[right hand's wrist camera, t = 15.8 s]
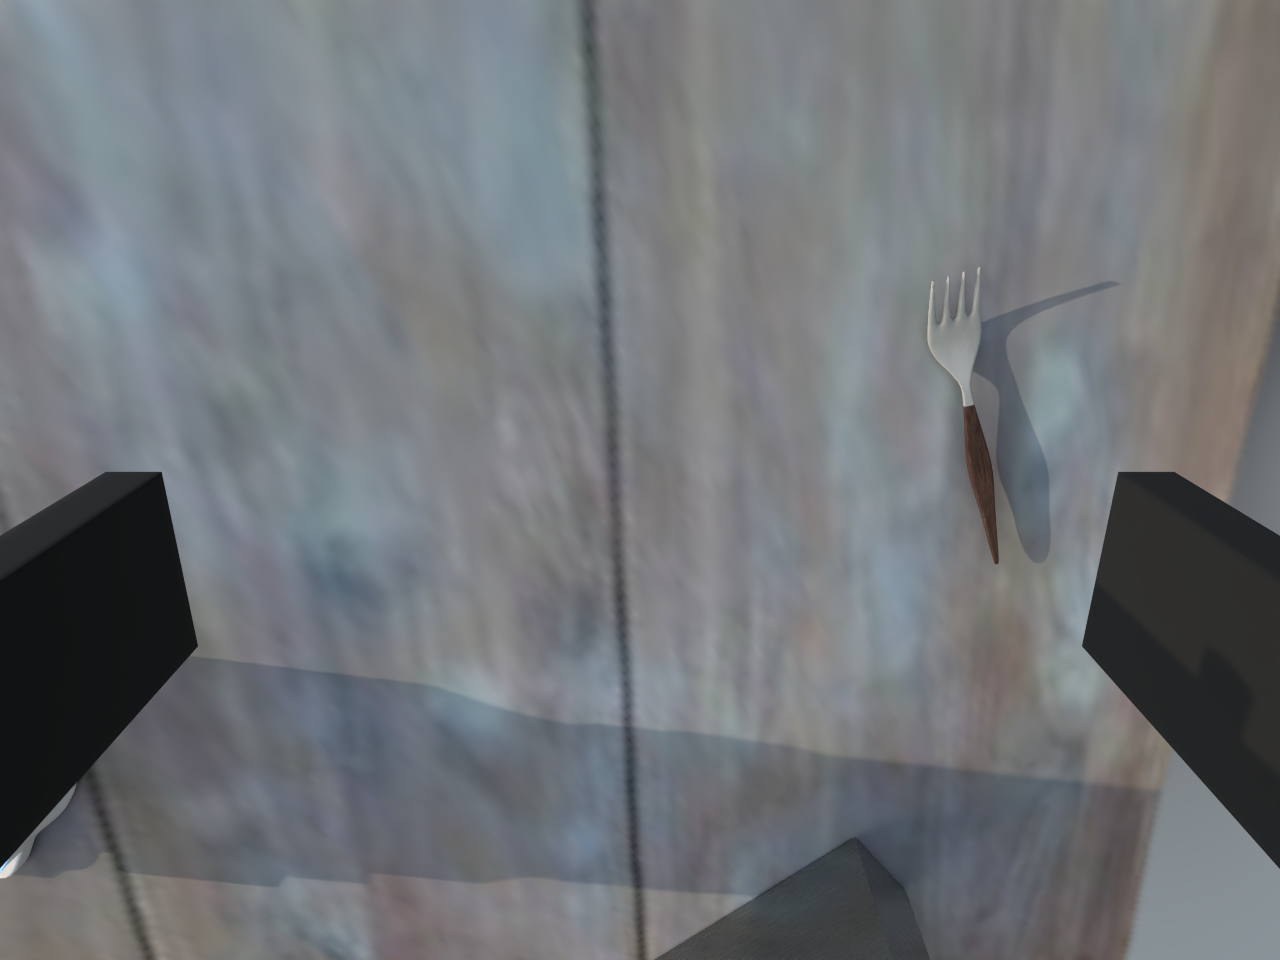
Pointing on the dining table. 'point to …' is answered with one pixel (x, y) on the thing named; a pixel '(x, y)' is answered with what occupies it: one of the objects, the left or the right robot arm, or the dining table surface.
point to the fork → (966, 392)
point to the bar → (818, 917)
